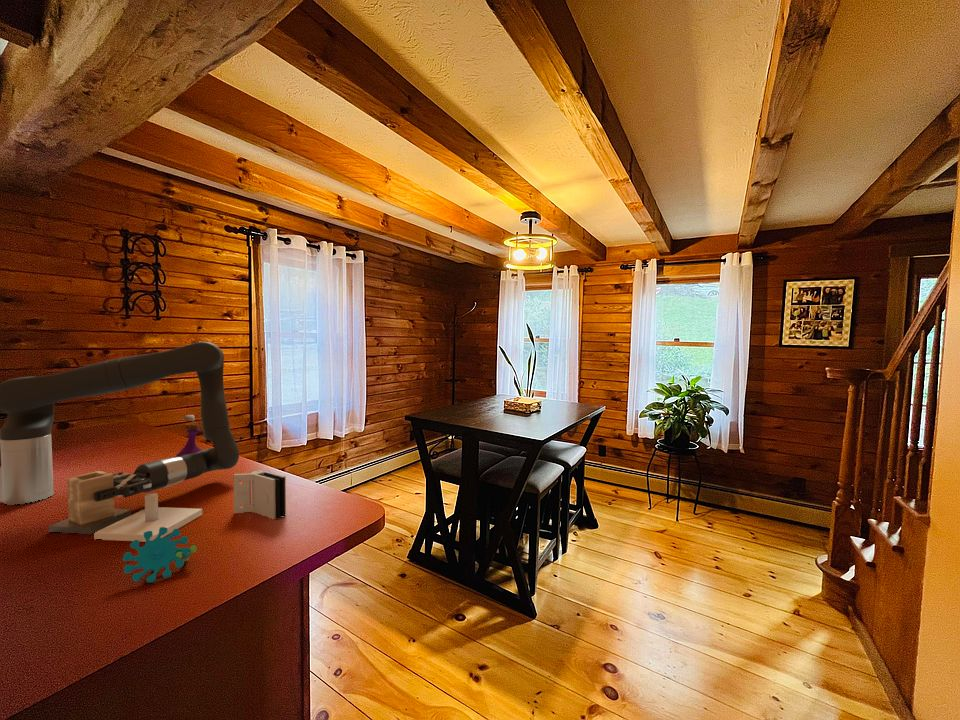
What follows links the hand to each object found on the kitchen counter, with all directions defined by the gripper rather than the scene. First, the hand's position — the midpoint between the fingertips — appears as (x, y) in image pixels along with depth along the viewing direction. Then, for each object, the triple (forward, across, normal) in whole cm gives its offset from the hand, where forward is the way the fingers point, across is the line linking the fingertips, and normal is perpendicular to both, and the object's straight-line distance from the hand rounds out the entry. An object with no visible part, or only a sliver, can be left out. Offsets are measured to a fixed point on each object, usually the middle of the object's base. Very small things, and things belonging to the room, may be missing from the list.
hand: (84, 494), depth 96 cm
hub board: (-6, +14, +8) cm, 17 cm away
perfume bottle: (-38, -23, +8) cm, 45 cm away
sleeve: (-1, 0, +6) cm, 6 cm away
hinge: (-22, +31, +8) cm, 39 cm away
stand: (-1, 0, +8) cm, 8 cm away
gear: (+4, +37, +8) cm, 38 cm away
